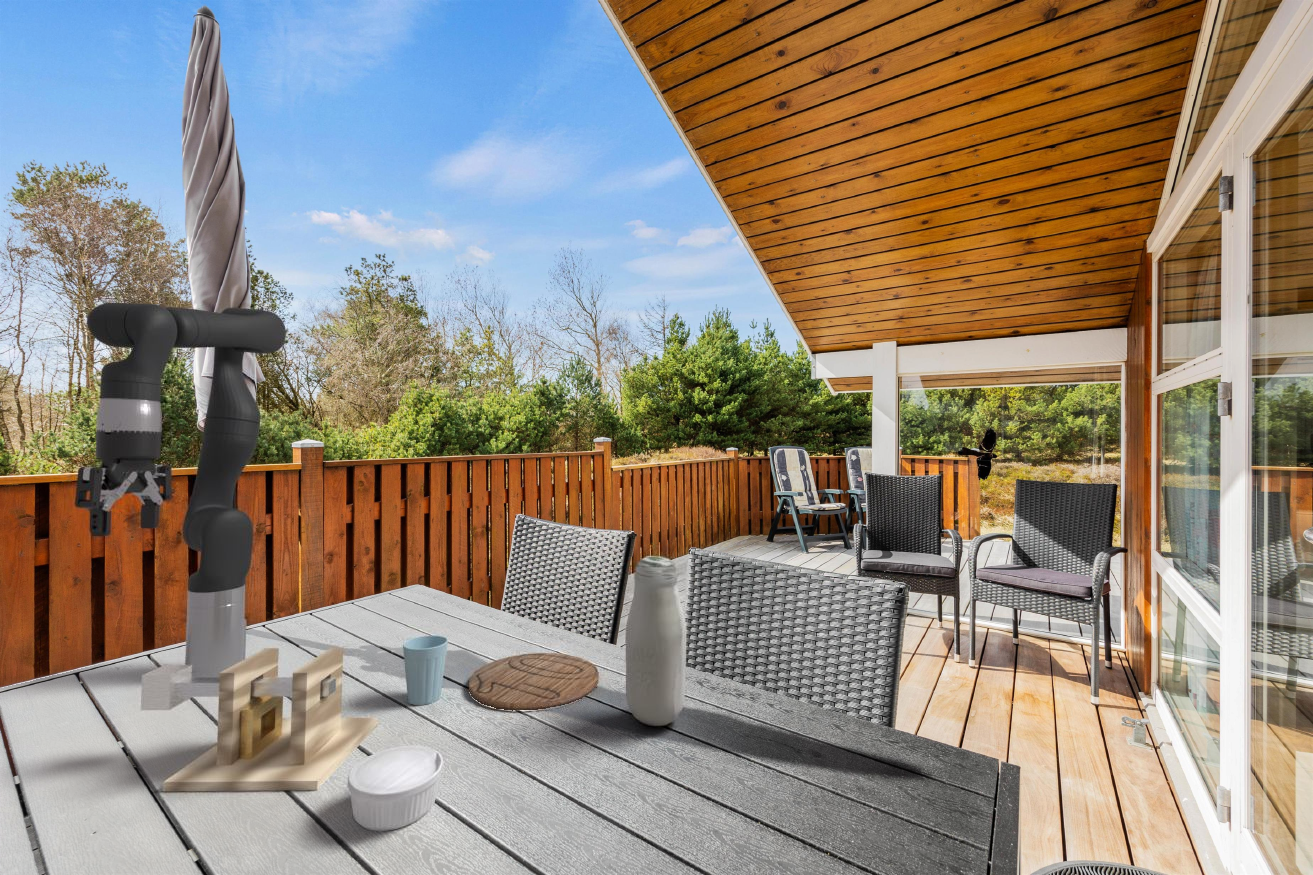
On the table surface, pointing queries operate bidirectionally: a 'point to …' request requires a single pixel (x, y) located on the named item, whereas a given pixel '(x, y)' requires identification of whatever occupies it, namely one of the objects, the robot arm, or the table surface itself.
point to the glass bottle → (655, 644)
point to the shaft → (207, 687)
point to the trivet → (533, 681)
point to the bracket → (307, 737)
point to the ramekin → (395, 786)
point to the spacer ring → (251, 725)
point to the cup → (424, 668)
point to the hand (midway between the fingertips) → (125, 531)
